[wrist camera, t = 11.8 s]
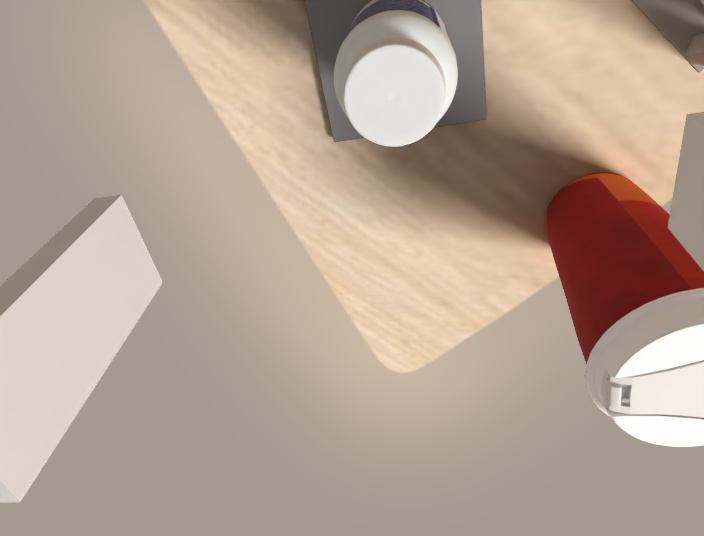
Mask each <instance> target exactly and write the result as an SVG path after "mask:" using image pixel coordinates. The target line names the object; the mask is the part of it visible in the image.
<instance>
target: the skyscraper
mask: <svg viewBox="0 0 704 536" xmlns="http://www.w3.org/2000/svg"><path fill="white" fill-rule="evenodd" d="M632 1H633V2H634V3H635V4H636V5H637V6H638V7H639V9H640V10H641V11H642V12H643V13H644V14H645V15H646V16H647V17H648V18H649V19H650V20H651V22H652V23H653V24H654V25H655V26H656V27H657V28H658V29H659V30H660V31H661V32H662V33H663V34H664V36H665V37H666V38H667V39H668V40H669V41H670V42H671V43H672V44H673V45H674V46H675V47H676V49H677V50H678V51H679V52H680V53H681V54H682V55H683V56H684V57H685V58H686V59H687V60H688V62H689V63H690V64H691V65H692V66H693V67H694V68H695V69H696V70H697V71H698V72H700V71H702V70H703V69H704V0H632Z"/></svg>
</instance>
